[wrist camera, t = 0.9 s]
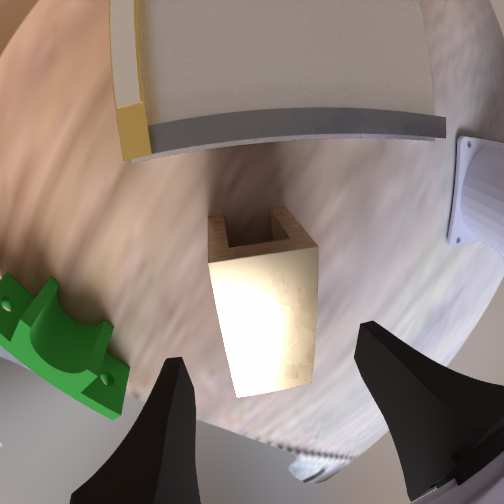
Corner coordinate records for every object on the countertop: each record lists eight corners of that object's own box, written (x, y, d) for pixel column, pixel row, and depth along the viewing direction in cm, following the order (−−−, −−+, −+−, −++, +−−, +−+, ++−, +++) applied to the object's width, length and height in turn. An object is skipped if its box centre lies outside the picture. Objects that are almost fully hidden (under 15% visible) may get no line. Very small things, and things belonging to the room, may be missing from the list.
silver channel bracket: (403, -20, 9) (429, -32, 7) (424, 139, 14) (454, 145, 12) (123, -28, 8) (109, -50, 5) (136, 160, 13) (121, 169, 10)
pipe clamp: (150, 347, 18) (142, 402, 14) (123, 371, 19) (114, 420, 15) (19, 244, 13) (-20, 283, 9) (4, 280, 14) (-29, 320, 10)
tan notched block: (207, 216, 14) (208, 263, 10) (285, 206, 15) (318, 246, 10) (229, 335, 18) (237, 397, 14) (289, 325, 18) (311, 383, 14)
